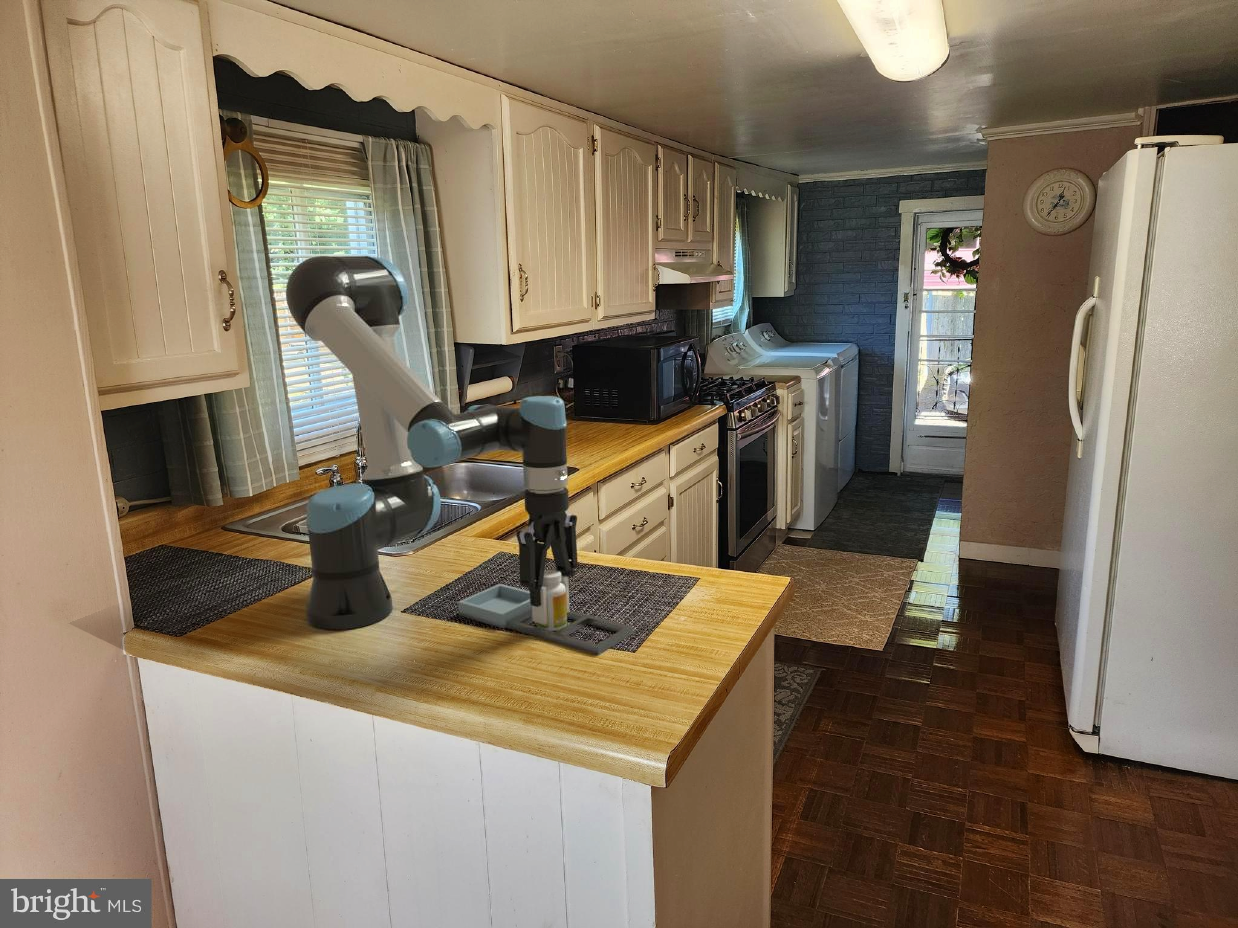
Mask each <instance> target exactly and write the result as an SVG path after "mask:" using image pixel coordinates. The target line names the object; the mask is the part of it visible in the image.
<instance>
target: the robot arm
mask: <svg viewBox="0 0 1238 928" xmlns="http://www.w3.org/2000/svg"><path fill="white" fill-rule="evenodd" d="M285 287H286V289H285V298H286V304H287V307H288V310H289V313H290V315H291V316H292V318H293V321H295V323H296V324H297V325H298V327H300V329H301V331H303V333H305V334H306V335H307V337H308V338H310V339H311V340H313V341H317V342H321V343H322V344H323V345H324V346H325V347H326V348H327V349H328V350H329V351H330V353H331V354H333V355H334V356H335V357H336V358H337V360H338V361H340V363H341V364H342V365H344V367H345V368H346V369H347V370H348V371H349V372H350V373H351V376H352V383H353V389H354V393H355V399H356V406H357V411H358V416H359V422H360V429H361V435H362V440H363V446H364V452H365V459H366V464H367V467H366V469H365V471H364V472H363V473H362V475H361V476H360V478H361V479H360V480H361V483H360V482H359V483H355V482H354V483H344V484H343V485H342V484H341V485H335V486H331V487H329V488H325V489H323V490H320V491H318V492H317V493H315V494H314V495H312V497H310V499H309V500H308V501H307V505H306V522H305V525H306V528H307V533H308V541H309V552H310V562H311V570H312V571H311V572H312V582H311V587H310V591H309V596H308V602H307V604H306V607H305V612H306V621H307V623H308V624H309V625H310V626H312V627H314V628H318V629H321V630H333V631H334V630H335V631H337V630H339V631H340V630H349V629H356V628H361V627H365V626H369V625H372V624H375V623H377V622H381V620H383V619H385V618H387V617H388V616H390V614H391V613H392V612H393V610H394V609H393V608H394V607H393V600H392V599H393V598H392V594H391V593H390V590H389V588H388V586H387V584H386V581H385V579H384V577H383V575H382V573H381V570H380V569H381V568H380V560H379V559H380V558H379V550H381V549H382V550H383V549H384V548H387V547H389V546H392V545H395V544H397V543H400V542H403V541H406V540H408V539H410V540H411V539H414V538H416V537H418V536H420V535H421V534H423V533H426V532H428V531H429V530H430V529H431V528H432V527H433V526H435V523H436V522H437V521H438V519H439V515H440V513H441V506H442V505H441V502H442V501H441V496H440V491H439V489H438V487H437V485H436V484H434V481H433V480H432V479H431V478H430V477H429V476H427V475H424V474H425V473H424V469H423V467H424V468H437V467H438V468H439V467H443V466H450V465H453V464H454V463H456V462H459V461H460V462H461V461H462V460H463V461H464V460H467V459H469V458H473V457H477V456H481V455H485V454H488V453H492V452H495V451H510V452H519V453H522V454H521V455H522V475H523V476H522V477H523V478H522V480H523V483H522V484H523V487H524V488H525V490H524V491H523V496H524V497H523V499H524V510H525V511H526V513H527V514H528V522H527V527H526V528H525V529H524V530H523V531H522V530H518V531H516V535H515V536H516V539H517V543H518V553H519V554H518V559H519V561H518V563H519V585H520V587H523V588H527V589H529V591H530V604H531V605H532V615H533V622H535V623H536V622H538V623H541V624H547V599H546V587H542V585H543V578H544V571H546V563H547V562H546V561H547V555H548V550H549V549H550V550H551V553H552V556H553V561H554V564H555V565H554V566H555V570H557V571H559V572H561V582H560V583H562V584H563V585H564V586H565V588H566V609H567V613H568V612H570V610H571V609H570V607H571V606H570V589H571V582H570V581H571V580H570V578H571V577H574V576H575V574H576V569H577V568H578V566H579V565H578V562H579V561H578V547H577V531H576V529H577V522H578V516H577V515H575V514H570V513H566V511H568V509H569V507H570V502H569V501H570V500H569V499H570V498H569V494H570V493H569V489H568V488H567V486H568V485H569V483H568V482H569V481H568V480H569V478H568V457H567V426H568V422H567V420H566V408H565V402H564V400H563V399H562V398H560V397H559V396H554V395H552V396H551V395H545V396H543V395H537V396H536V395H535V396H528V397H524V398H522V399H521V400H520V402H519V407H514V406H513V407H510V406H501V405H492V404H488V403H487V404H481V405H479V404H477V405H475V404H474V405H472V406H469V407H468V408H467V410H466V411H464V412H459V413H454V412H453V411H452V410H451V409H450V408H449V406H447V405H446V404H445V403H444V402H443V401H442V400H441V399H440V398H439V397H438V395H436V393H434V392H433V391H432V390H431V389H430V388H429V387H428V385H426V383H424V381H423V380H422V379H421V378H420V377H419V376H418V375H417V374H416V373H415V372H414V371H413V370H412V369H411V368H410V367H409V366H408V365H407V364H406V363H405V362H404V361H403V360H402V359H401V358H400V357H399V356H398V355H397V351H396V344H395V338H394V337H395V334H396V333H397V331H399V328H400V327H401V325H400V324H401V323H400V318H399V317H400V316H401V315H402V314H403V313H404V312H405V310H406V308H407V307H406V306H407V304H408V301H409V292H408V291H409V290H408V286H407V282H406V280H405V278H404V276H403V274H402V272H401V271H400V269H399V268H397V267H396V266H395V264H393V262H391V261H390V260H387V259H385V258H381V257H375V256H369V255H360V256H359V255H357V256H354V255H353V256H350V255H349V256H344V255H343V256H328V255H319V256H313V257H310V258H307V259H305V260H303V261H302V262H300V263H299V264H298V265H297V266H296V267H295V268H294V269H292V271H291V274H290V275H289V277H288V280H287V282H286V286H285Z"/></svg>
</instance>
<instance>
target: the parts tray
mask: <svg viewBox="0 0 1238 928" xmlns="http://www.w3.org/2000/svg"><path fill="white" fill-rule="evenodd" d="M457 603H458V605H457V606H458V608H457V609H458V616H461V617H464V618H467V619H470V620H474V621H476V622H477V621H478V622H480V623H485V624H488V625H490V626H494V627H496V628H497V627H498V628H501V629H505V628H507V621H509V620H511V619H513V618H515V617H517V616H519V615H521V614H523V613H525V612H527V611H530V610H532V605H531V604H530V590H525V589H521V588H519V587H515V586H511V585H507V584H502V583H498V584H496V585H494V586H491V587H489V588H486V589H484V590H482V591H480V592H477V593H475V594H473V595H471V596H468V597H466V598H464V599H461V600H459V601H457Z"/></svg>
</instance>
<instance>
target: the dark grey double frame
mask: <svg viewBox="0 0 1238 928" xmlns="http://www.w3.org/2000/svg"><path fill="white" fill-rule="evenodd" d="M567 620H571V621H573V622H571V623H569V624H567V625H566V626H565V627H563V628H561V629H560V630H557V631H549V630H545V629H542V628H538V627H537V626H535V625H531V624H532V623H533V622H534V621H533V615H532V610H530V611H527V612H525V613H523V614H521V615H519V616H517V617H515V618H513V619H511V620H509V621H507V627H506V628H507V629H509V630H513V631H516V632H520V633H522V634H527V635H530V636H534V637H535V638H536V637H537V638H540V639H544V640H548V641H550V642H554V643H558V644H560V645H563V646H567V647H570V648H574V649H578V650H580V651H583V652H588V653H591V654H594V655H601V654H602V653H604V652H606V651H608V650H609V649H611V648H612V647H614V646H615V645H617V644H618V643H621V642H622V641H624V640H626V639H627V638H629V637H630V636H632V635H633V634H634V626H631V625H627V624H624V623H620V622H616V621H612V620H608V619H605V618H601V617H597V616H594V615H589V614H586V613H581V612H577V611H575V610H571V609H570V612H568V613H567ZM588 625H590V626H594V627H598V628H601V629H605V630H608V631H612V632H616V633H613V634H612V635H610V636H609V637H606V638H605V639H603V640H602V641H600V642H599V643H593V642H590V641H588V640H587V641H586V640H583V639H579V638H576V637H573V636H570V635H571V634H573V633H574V632H576V631H577V632H578V631H579V630H580V629H582V628H584V627H585V626H588Z"/></svg>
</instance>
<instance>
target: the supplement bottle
mask: <svg viewBox="0 0 1238 928" xmlns="http://www.w3.org/2000/svg"><path fill="white" fill-rule="evenodd" d="M560 582H561V572H559V571H557V570H556V569H549V570H546V569H545V571H544V578H543V585H542V587H546V599H547V624H541V623H538V622H535V623H536V627H538V628H542V629H545V630H549V631H552V632H556V631H558V630H560V629H561V628H563V627H565V626H567V625H568V619H567V609H566V588H565V586H564V585H563V584H562V583H560Z"/></svg>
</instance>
